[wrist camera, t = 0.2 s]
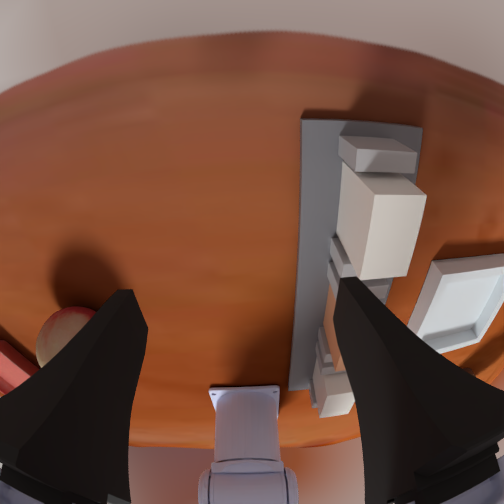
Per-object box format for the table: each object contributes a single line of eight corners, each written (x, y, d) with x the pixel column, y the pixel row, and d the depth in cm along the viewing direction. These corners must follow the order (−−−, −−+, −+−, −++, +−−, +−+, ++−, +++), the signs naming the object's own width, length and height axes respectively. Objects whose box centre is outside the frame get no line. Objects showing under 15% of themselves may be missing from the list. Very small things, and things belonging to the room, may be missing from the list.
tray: (472, 330, 29) (479, 342, 27) (396, 348, 29) (401, 362, 27) (511, 252, 22) (522, 263, 20) (431, 260, 22) (442, 275, 20)
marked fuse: (355, 320, 25) (371, 365, 20) (323, 323, 25) (335, 371, 20) (366, 275, 22) (389, 323, 18) (330, 278, 22) (347, 329, 18)
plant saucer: (-1, 325, 27) (-12, 343, 24) (95, 399, 36) (90, 418, 33) (-23, 353, 32) (-30, 367, 29) (51, 409, 41) (46, 423, 38)
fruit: (41, 294, 23) (6, 357, 16) (102, 283, 22) (67, 361, 16) (82, 348, 27) (60, 408, 21) (142, 344, 27) (125, 416, 20)
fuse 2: (376, 230, 19) (406, 275, 15) (336, 232, 19) (359, 280, 15) (386, 162, 17) (426, 195, 13) (342, 161, 17) (374, 194, 13)
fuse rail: (354, 378, 32) (360, 403, 29) (287, 386, 32) (290, 413, 29) (418, 126, 16) (449, 141, 13) (300, 118, 16) (314, 130, 13)
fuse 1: (339, 374, 30) (348, 413, 25) (312, 377, 30) (319, 418, 25) (347, 347, 27) (359, 390, 23) (317, 351, 27) (327, 395, 23)
